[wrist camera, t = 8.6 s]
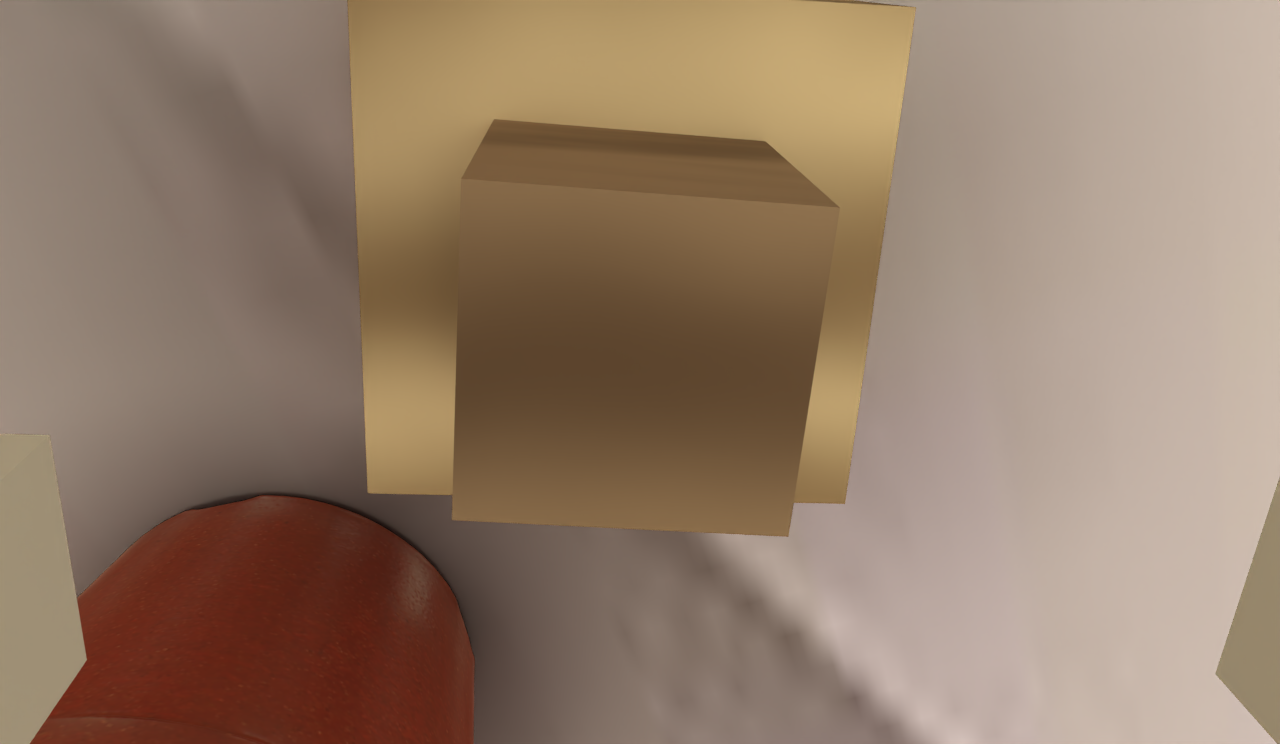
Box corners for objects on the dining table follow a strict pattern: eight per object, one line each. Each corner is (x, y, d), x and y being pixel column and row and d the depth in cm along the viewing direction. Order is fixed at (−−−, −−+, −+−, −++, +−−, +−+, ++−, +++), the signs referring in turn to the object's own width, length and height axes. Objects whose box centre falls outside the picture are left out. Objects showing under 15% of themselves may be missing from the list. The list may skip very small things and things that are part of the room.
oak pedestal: (393, -28, 27) (346, -27, 21) (847, -1, 28) (915, 7, 22) (404, 399, 31) (367, 493, 26) (797, 411, 32) (844, 503, 27)
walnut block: (493, 119, 23) (461, 178, 16) (765, 141, 23) (840, 207, 17) (484, 375, 25) (452, 520, 18) (733, 390, 25) (788, 536, 19)
